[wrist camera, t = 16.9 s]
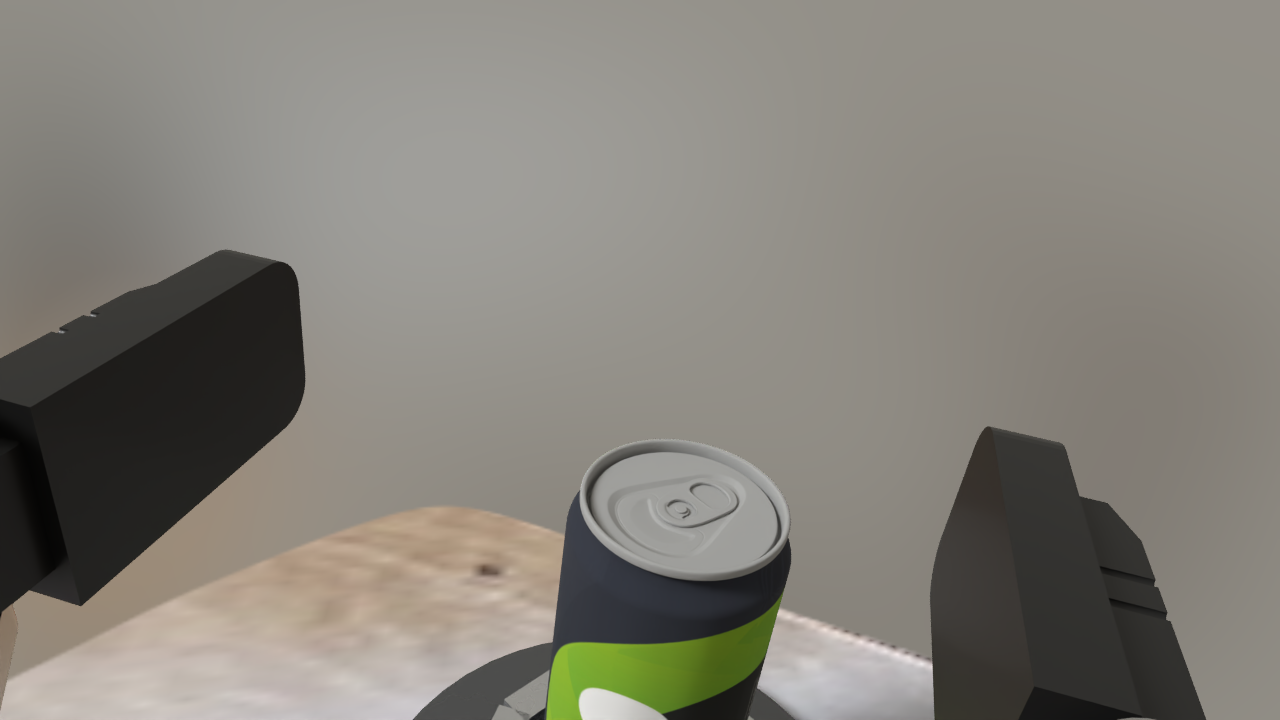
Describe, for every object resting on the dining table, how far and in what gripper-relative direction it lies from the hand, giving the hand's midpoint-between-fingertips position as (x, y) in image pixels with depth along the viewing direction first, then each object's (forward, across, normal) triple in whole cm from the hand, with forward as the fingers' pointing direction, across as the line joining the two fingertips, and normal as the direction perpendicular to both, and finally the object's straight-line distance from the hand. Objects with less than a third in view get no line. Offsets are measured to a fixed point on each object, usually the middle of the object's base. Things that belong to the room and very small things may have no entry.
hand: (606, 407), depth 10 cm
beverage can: (+11, 0, +24) cm, 27 cm away
